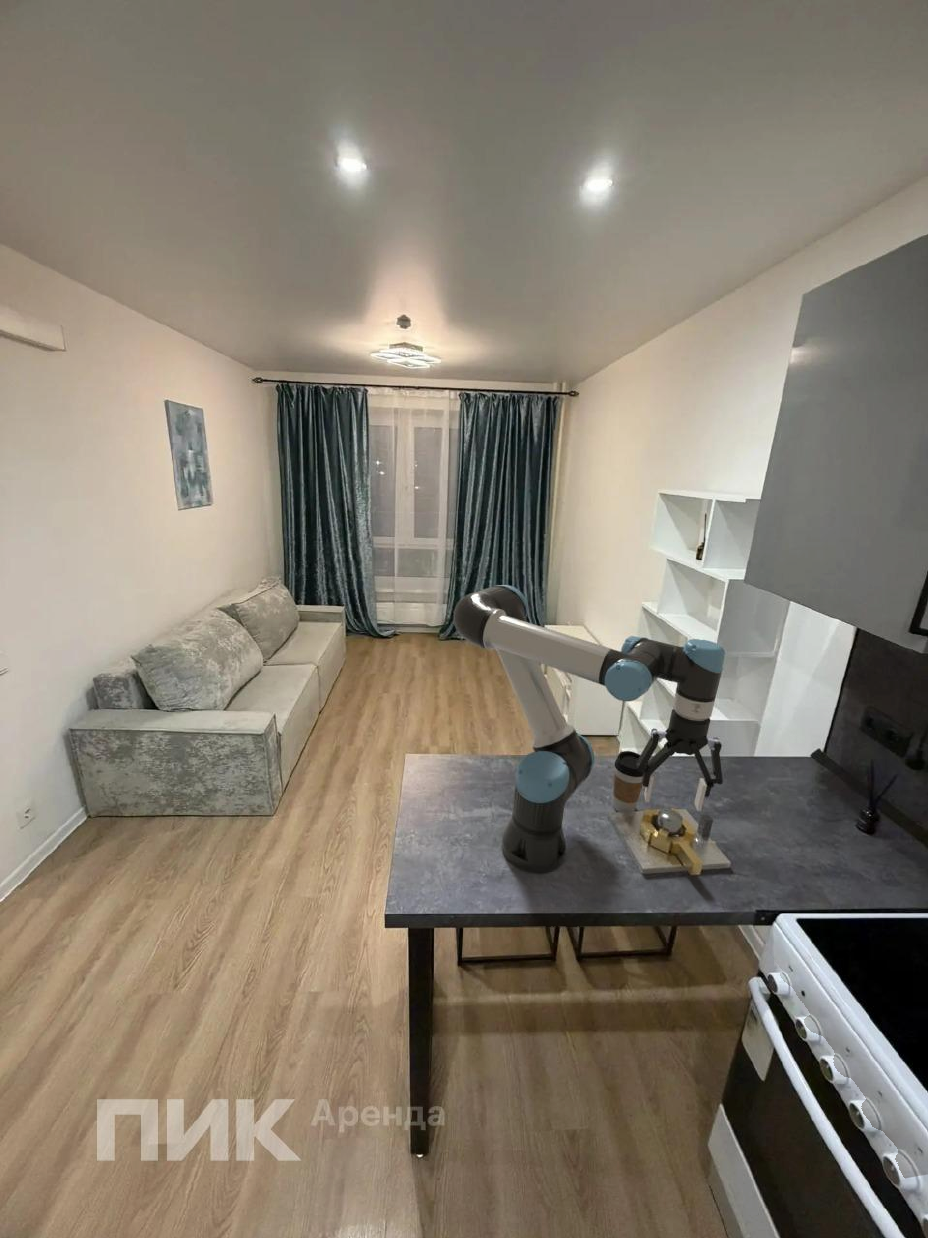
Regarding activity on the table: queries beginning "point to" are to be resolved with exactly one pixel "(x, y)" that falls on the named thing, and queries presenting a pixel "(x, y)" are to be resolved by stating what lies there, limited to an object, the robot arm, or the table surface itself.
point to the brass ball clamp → (672, 840)
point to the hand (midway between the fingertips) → (671, 802)
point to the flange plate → (657, 855)
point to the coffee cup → (626, 782)
